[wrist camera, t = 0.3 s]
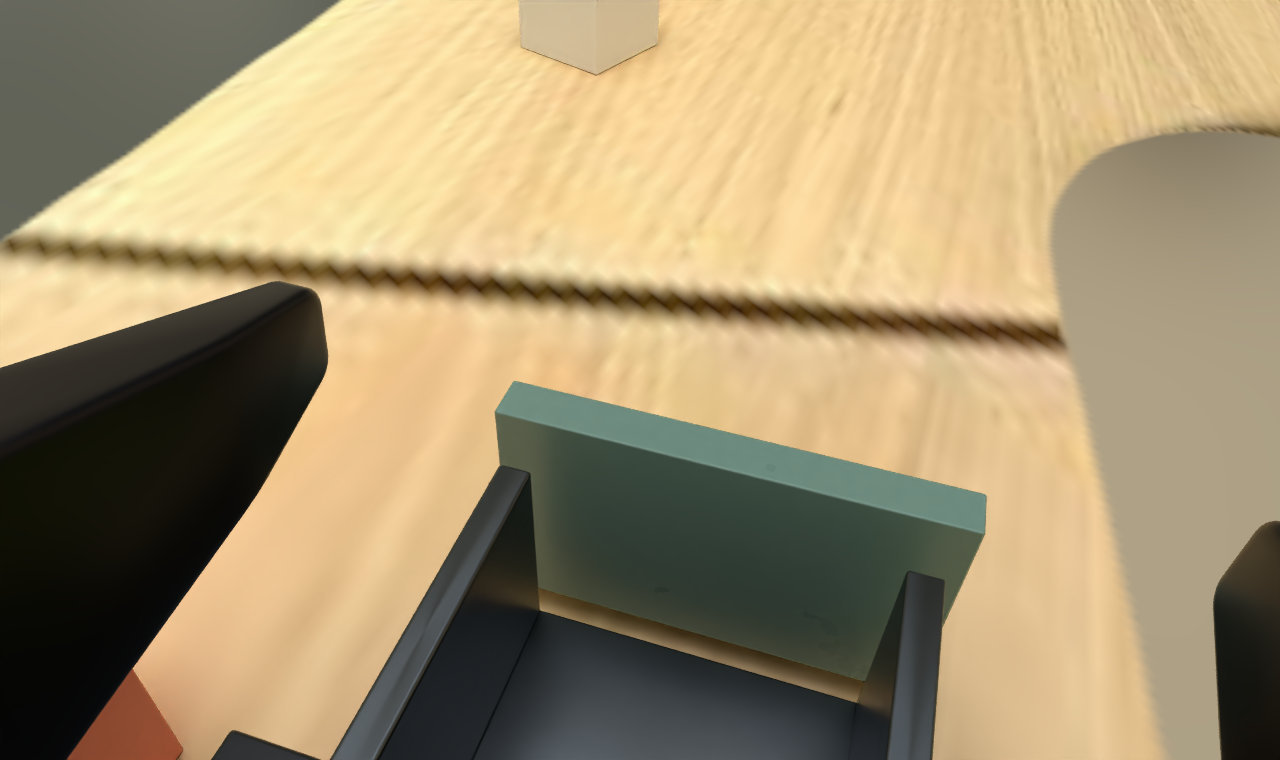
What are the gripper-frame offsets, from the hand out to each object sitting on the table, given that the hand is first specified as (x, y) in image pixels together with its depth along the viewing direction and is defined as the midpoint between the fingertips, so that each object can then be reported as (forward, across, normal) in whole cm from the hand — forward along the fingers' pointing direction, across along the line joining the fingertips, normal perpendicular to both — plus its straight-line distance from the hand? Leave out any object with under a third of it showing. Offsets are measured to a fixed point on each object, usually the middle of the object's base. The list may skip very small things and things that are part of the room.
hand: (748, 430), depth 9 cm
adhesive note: (+48, +16, +14) cm, 53 cm away
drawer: (+7, 0, +16) cm, 17 cm away
